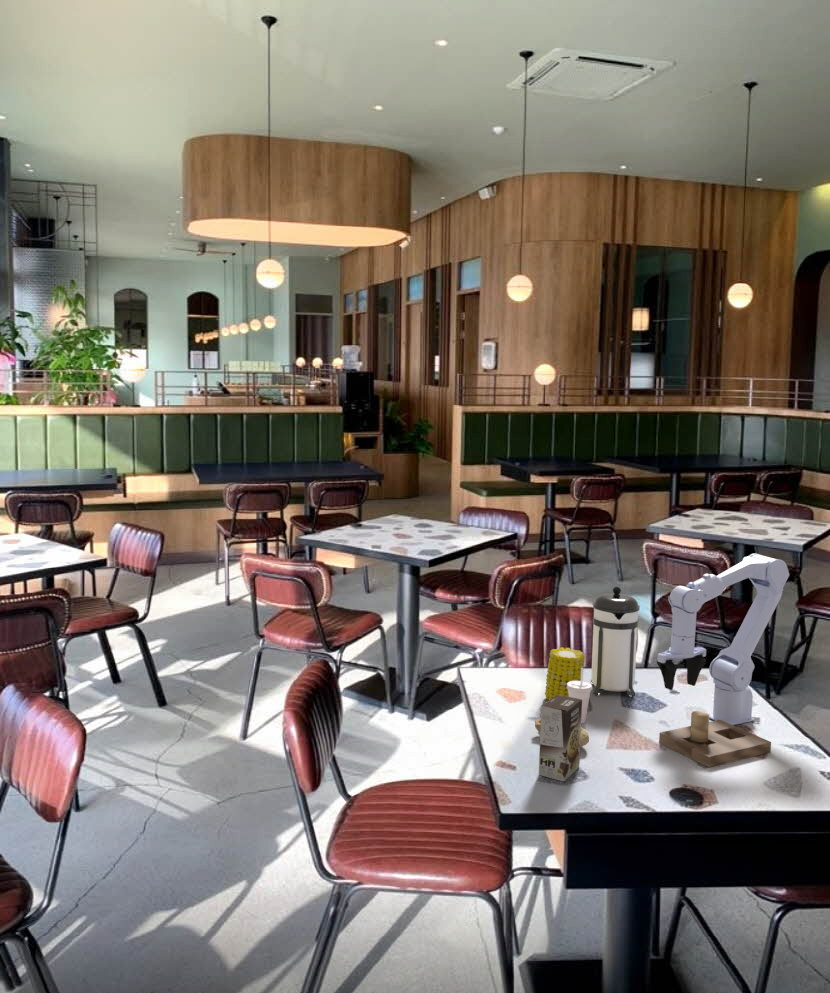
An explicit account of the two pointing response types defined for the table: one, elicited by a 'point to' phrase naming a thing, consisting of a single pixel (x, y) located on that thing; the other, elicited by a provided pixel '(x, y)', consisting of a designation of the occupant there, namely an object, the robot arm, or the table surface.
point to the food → (563, 670)
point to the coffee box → (560, 737)
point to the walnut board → (716, 744)
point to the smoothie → (580, 693)
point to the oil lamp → (584, 734)
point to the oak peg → (699, 728)
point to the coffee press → (614, 642)
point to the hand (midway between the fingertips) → (680, 686)
